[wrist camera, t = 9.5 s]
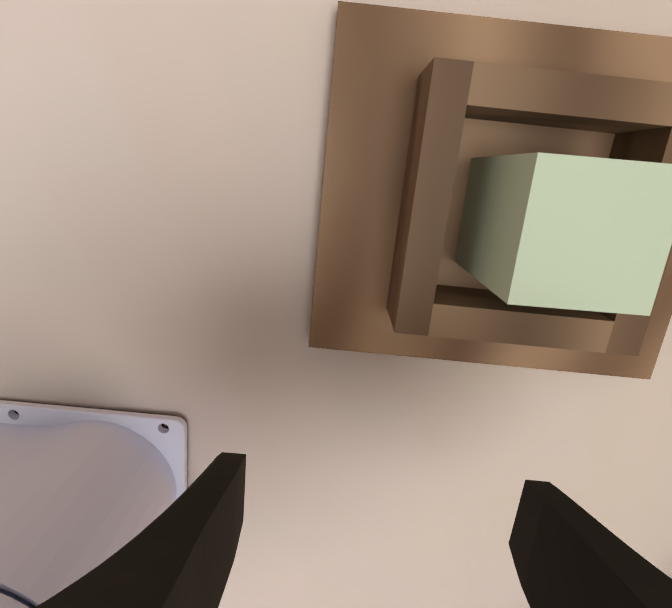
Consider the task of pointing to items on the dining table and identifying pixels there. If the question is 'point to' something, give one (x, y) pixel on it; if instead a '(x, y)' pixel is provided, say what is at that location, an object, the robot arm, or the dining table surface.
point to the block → (568, 230)
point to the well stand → (452, 176)
